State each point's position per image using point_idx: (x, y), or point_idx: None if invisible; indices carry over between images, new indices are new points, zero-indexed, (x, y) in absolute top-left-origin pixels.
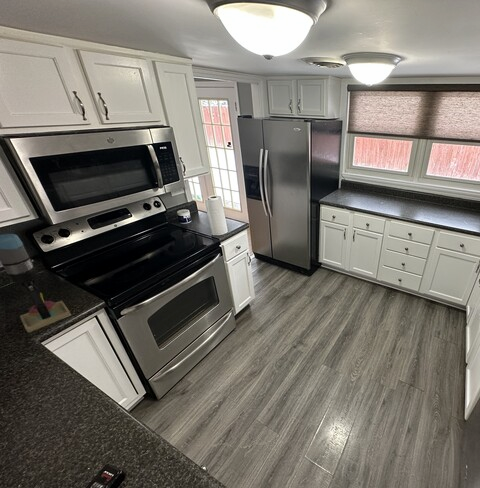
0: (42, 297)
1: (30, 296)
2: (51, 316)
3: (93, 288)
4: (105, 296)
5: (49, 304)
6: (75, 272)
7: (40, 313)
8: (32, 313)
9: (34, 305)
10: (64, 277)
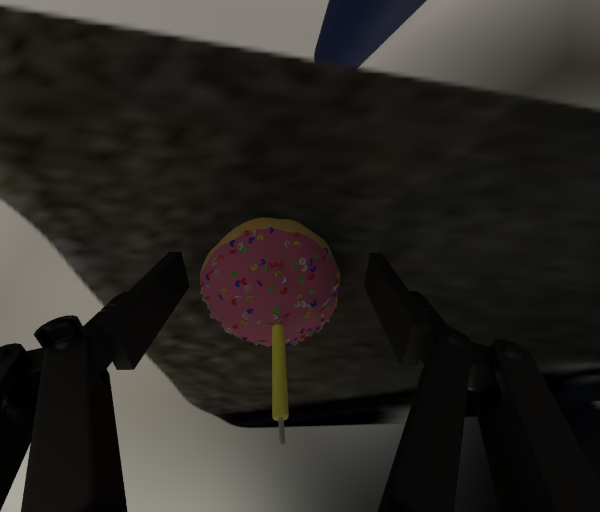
0: (274, 375)
1: (408, 318)
2: None
3: (341, 413)
4: (231, 423)
5: (239, 336)
6: (568, 402)
7: (141, 284)
8: (227, 241)
9: (296, 282)
10: (577, 373)
